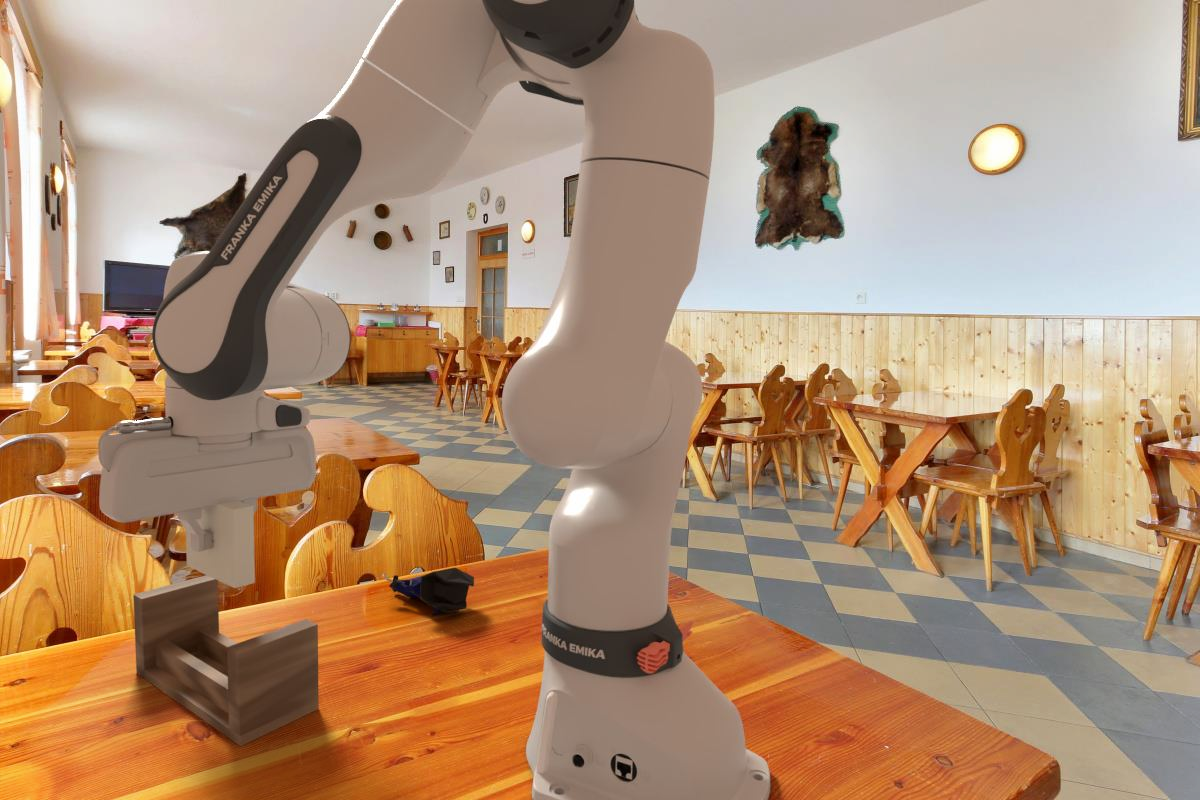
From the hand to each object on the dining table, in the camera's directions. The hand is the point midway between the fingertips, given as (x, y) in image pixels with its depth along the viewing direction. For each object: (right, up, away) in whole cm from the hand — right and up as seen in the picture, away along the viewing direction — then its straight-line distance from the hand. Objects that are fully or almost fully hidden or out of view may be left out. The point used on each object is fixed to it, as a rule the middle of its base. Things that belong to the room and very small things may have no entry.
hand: (219, 545), depth 72 cm
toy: (+15, -14, +26) cm, 33 cm away
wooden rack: (0, -16, +2) cm, 16 cm away
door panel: (0, -3, 0) cm, 3 cm away
